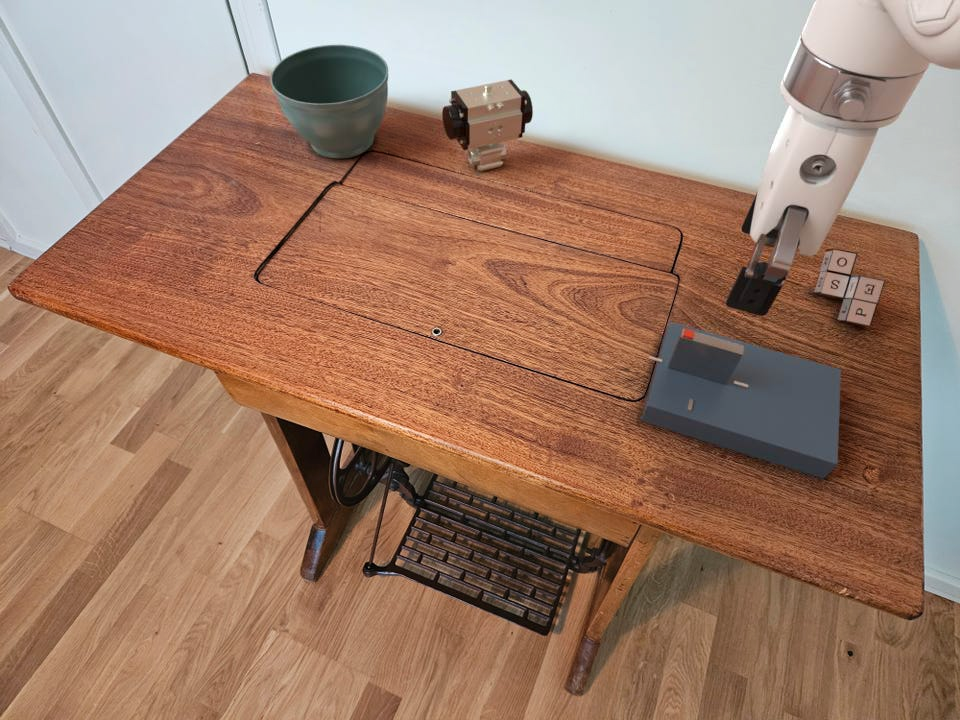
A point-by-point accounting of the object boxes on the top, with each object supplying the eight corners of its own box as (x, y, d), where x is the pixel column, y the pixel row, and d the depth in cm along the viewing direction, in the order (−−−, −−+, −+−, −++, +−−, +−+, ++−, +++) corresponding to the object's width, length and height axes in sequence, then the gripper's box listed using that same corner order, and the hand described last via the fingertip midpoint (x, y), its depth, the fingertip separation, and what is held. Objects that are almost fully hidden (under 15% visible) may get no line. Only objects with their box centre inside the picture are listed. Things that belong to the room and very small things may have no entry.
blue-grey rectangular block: (828, 385, 67) (842, 368, 65) (823, 479, 60) (838, 463, 58) (653, 335, 71) (660, 317, 69) (630, 417, 64) (636, 400, 62)
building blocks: (852, 324, 75) (872, 259, 74) (870, 326, 70) (892, 256, 69) (806, 314, 76) (826, 249, 75) (821, 315, 71) (842, 246, 70)
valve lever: (727, 376, 64) (745, 344, 60) (726, 385, 63) (744, 353, 59) (669, 359, 65) (683, 326, 61) (667, 367, 64) (681, 335, 60)
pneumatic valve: (443, 163, 91) (440, 84, 82) (516, 147, 94) (521, 69, 84) (456, 185, 88) (455, 106, 78) (531, 167, 91) (538, 89, 81)
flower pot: (327, 188, 87) (311, 117, 79) (267, 139, 94) (247, 69, 86) (417, 144, 94) (411, 74, 85) (355, 102, 101) (344, 33, 93)
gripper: (917, 165, 34) (788, 356, 47) (909, 28, 44) (804, 219, 57) (776, 135, 35) (690, 328, 49) (798, 9, 45) (722, 199, 59)
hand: (752, 269), depth 53 cm, fingers open, 9 cm apart
